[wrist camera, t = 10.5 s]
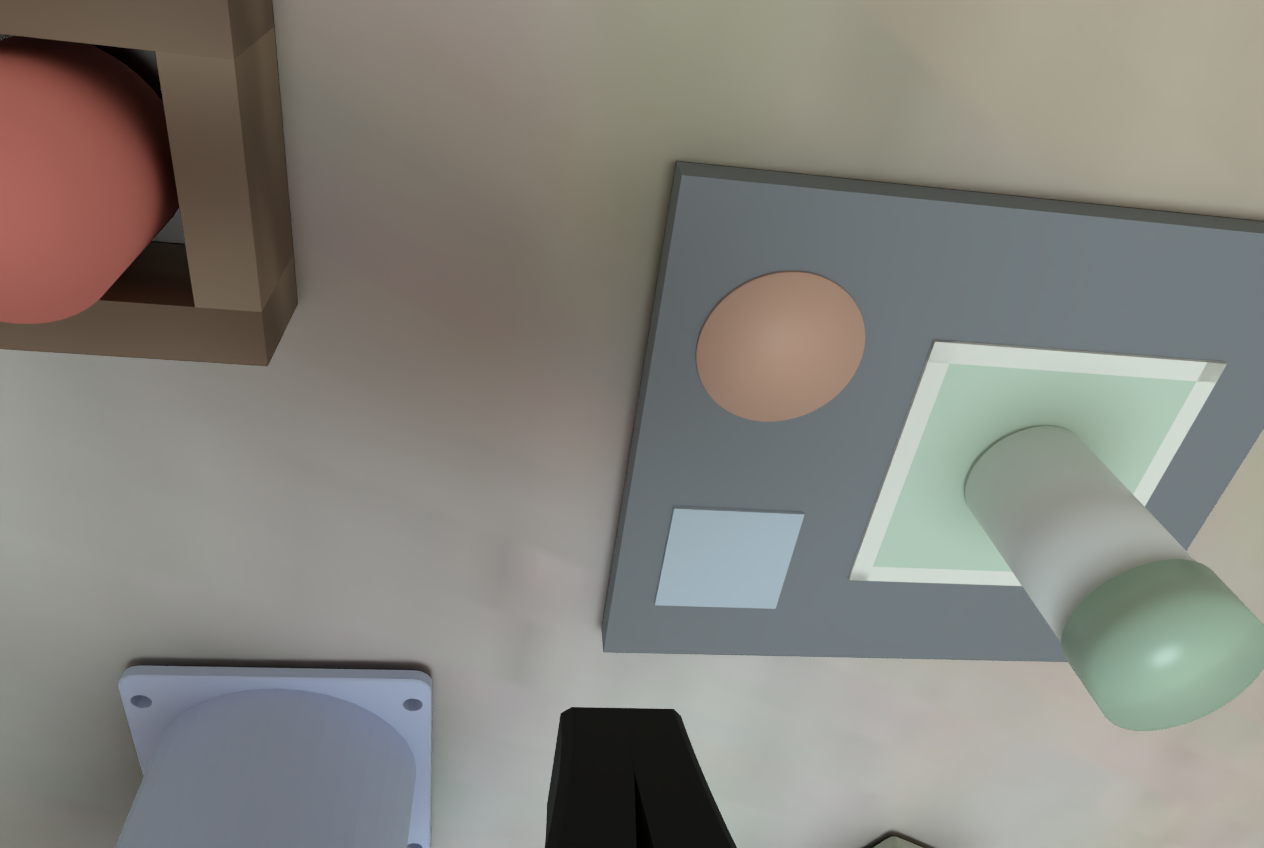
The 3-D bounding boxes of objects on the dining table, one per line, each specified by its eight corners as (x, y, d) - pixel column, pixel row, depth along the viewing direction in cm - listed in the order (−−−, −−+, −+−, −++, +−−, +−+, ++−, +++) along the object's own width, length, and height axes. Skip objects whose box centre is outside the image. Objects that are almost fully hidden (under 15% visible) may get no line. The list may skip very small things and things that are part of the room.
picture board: (1101, 642, 27) (1117, 665, 26) (601, 629, 24) (603, 655, 24) (1350, 230, 20) (1383, 247, 19) (676, 160, 17) (682, 177, 17)
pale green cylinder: (1058, 530, 23) (1216, 729, 18) (942, 526, 22) (1072, 732, 17) (1114, 425, 21) (1305, 614, 16) (989, 418, 20) (1149, 612, 15)
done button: (201, 254, 16) (142, 332, 14) (-13, 236, 16) (-113, 314, 14) (171, 48, 15) (95, 96, 12) (-75, 20, 14) (-205, 65, 12)
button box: (297, 303, 18) (267, 366, 16) (-47, 278, 17) (-124, 340, 15) (268, -45, 15) (224, -22, 13) (-166, -101, 14) (-289, -85, 12)
